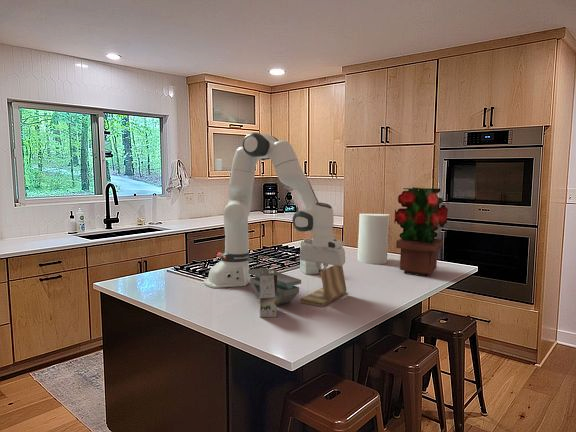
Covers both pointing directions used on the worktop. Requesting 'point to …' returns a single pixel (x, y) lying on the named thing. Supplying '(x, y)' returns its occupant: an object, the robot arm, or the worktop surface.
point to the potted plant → (419, 229)
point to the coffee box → (268, 292)
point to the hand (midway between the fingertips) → (321, 273)
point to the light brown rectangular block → (318, 298)
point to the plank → (333, 281)
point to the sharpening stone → (284, 286)
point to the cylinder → (373, 238)
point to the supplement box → (308, 266)
